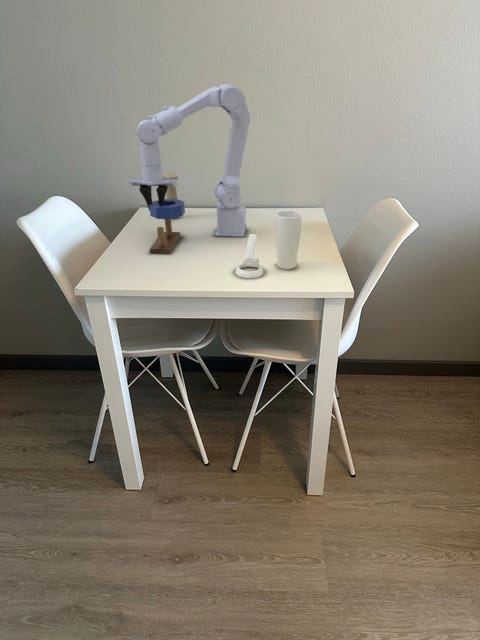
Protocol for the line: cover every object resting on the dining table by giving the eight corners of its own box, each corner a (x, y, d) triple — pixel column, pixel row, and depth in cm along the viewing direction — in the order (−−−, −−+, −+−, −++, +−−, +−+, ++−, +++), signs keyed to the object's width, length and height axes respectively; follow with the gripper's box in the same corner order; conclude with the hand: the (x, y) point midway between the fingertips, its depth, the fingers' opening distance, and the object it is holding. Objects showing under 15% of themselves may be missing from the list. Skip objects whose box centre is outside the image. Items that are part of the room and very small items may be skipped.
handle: (170, 221, 166) (166, 178, 158) (164, 216, 171) (160, 174, 163) (183, 219, 168) (179, 176, 160) (176, 214, 173) (173, 172, 165)
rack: (180, 236, 152) (179, 215, 149) (169, 254, 140) (167, 231, 136) (162, 235, 153) (160, 215, 149) (150, 253, 140) (147, 231, 137)
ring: (186, 209, 149) (186, 199, 147) (180, 219, 140) (179, 208, 139) (156, 209, 150) (155, 198, 148) (147, 218, 142) (146, 207, 140)
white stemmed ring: (267, 243, 132) (271, 237, 125) (259, 284, 131) (263, 280, 124) (241, 237, 131) (243, 231, 124) (233, 279, 130) (235, 275, 123)
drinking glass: (292, 273, 127) (294, 219, 119) (270, 267, 130) (271, 215, 122) (302, 264, 132) (305, 212, 124) (281, 259, 135) (283, 208, 127)
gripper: (123, 167, 136) (129, 212, 142) (172, 167, 134) (175, 214, 141) (130, 161, 142) (136, 206, 148) (177, 162, 140) (181, 207, 147)
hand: (156, 209), depth 145 cm, fingers closed on ring, 3 cm apart
